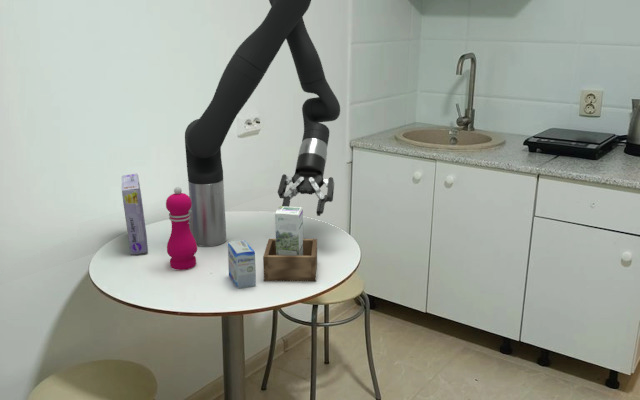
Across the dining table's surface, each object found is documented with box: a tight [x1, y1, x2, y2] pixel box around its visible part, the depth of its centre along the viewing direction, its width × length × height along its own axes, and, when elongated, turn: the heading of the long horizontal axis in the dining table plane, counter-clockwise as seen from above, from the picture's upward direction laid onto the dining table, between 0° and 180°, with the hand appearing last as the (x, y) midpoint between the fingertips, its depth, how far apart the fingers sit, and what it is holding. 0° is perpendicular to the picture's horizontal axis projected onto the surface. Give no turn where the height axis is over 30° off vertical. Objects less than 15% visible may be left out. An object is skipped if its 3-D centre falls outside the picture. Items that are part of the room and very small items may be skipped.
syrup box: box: [274, 205, 304, 256], centre depth 140 cm, size 6×6×14 cm
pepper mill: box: [165, 186, 198, 271], centre depth 142 cm, size 7×7×20 cm
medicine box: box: [227, 239, 257, 289], centre depth 135 cm, size 8×4×9 cm, turn 23°
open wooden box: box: [262, 238, 318, 282], centre depth 141 cm, size 12×12×6 cm
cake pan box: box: [121, 173, 149, 255], centre depth 158 cm, size 19×5×18 cm, turn 18°
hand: (301, 213), depth 150 cm, fingers open, 8 cm apart
